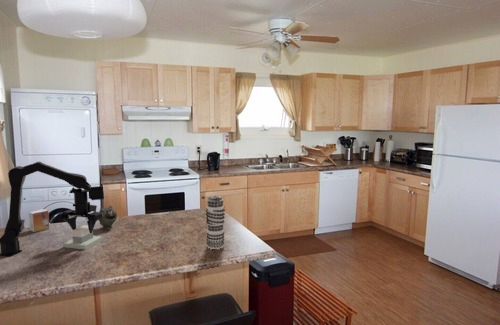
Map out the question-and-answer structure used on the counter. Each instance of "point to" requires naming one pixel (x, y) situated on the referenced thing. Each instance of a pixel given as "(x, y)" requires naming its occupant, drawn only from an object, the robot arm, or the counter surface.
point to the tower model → (215, 222)
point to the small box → (39, 220)
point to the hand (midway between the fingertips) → (82, 232)
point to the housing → (81, 234)
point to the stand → (83, 245)
